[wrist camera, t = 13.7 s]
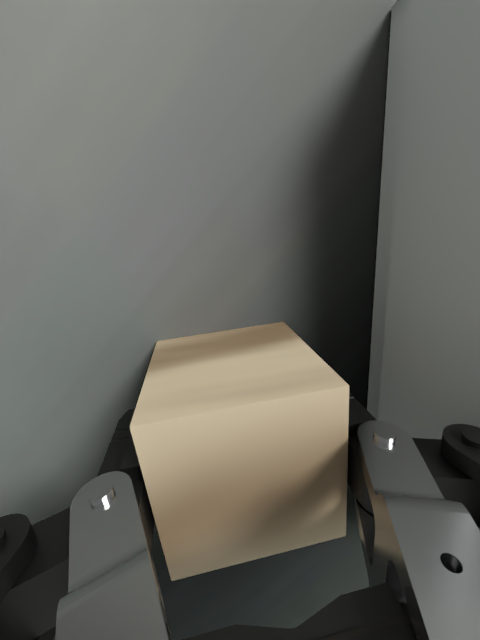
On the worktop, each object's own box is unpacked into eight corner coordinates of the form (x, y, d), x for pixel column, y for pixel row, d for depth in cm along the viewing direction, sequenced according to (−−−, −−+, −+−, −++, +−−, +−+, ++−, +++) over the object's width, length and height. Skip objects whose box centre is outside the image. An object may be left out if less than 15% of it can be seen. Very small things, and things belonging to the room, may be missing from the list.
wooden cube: (156, 341, 11) (129, 427, 6) (283, 321, 11) (349, 385, 7) (179, 446, 12) (171, 581, 7) (289, 424, 13) (345, 535, 8)
